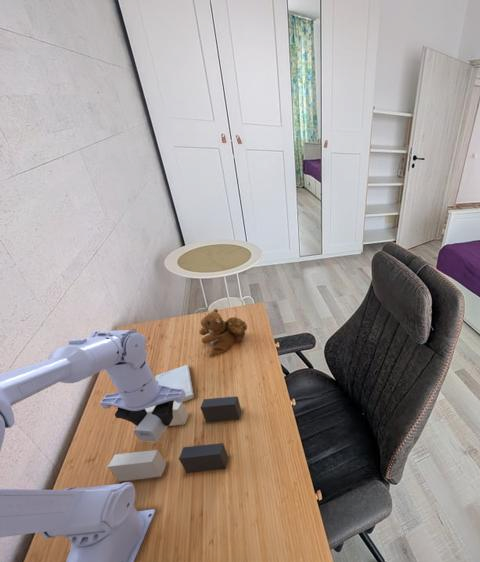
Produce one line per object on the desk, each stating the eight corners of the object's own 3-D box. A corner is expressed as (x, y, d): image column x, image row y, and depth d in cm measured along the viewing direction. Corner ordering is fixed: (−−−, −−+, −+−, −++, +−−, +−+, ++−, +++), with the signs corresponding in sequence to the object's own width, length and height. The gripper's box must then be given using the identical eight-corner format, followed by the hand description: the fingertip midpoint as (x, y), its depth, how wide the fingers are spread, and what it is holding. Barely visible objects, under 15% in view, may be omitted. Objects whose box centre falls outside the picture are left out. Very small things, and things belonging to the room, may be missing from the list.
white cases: (161, 476, 61) (151, 461, 58) (119, 481, 59) (107, 466, 56) (188, 415, 73) (182, 400, 70) (154, 418, 72) (146, 403, 69)
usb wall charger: (139, 440, 60) (132, 429, 58) (161, 411, 66) (156, 400, 64) (158, 442, 60) (151, 431, 58) (178, 413, 66) (173, 402, 64)
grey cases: (225, 468, 63) (219, 454, 60) (186, 473, 61) (178, 458, 58) (241, 410, 75) (237, 396, 72) (209, 413, 74) (203, 398, 71)
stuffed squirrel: (203, 339, 97) (193, 308, 90) (247, 328, 103) (241, 298, 97) (204, 358, 90) (193, 326, 83) (251, 345, 96) (245, 315, 89)
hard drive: (154, 375, 81) (156, 408, 72) (187, 364, 85) (192, 393, 77) (156, 379, 82) (158, 412, 73) (189, 368, 86) (194, 397, 77)
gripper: (183, 363, 60) (199, 404, 67) (106, 367, 58) (131, 409, 65) (168, 390, 54) (187, 432, 61) (81, 397, 52) (111, 439, 59)
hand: (157, 422), depth 62 cm, fingers closed on usb wall charger, 4 cm apart
